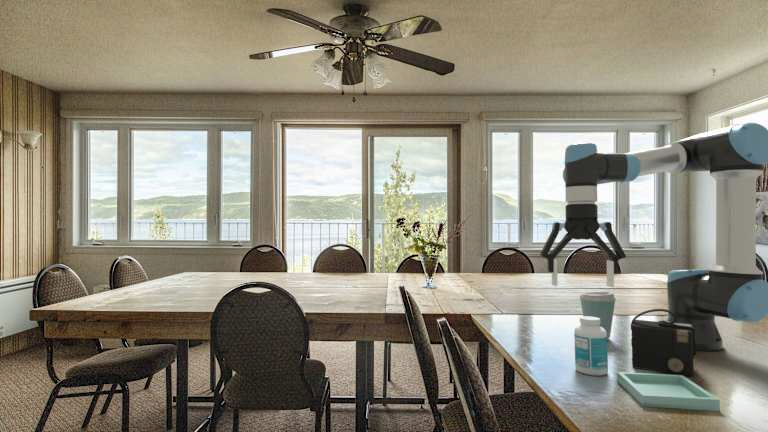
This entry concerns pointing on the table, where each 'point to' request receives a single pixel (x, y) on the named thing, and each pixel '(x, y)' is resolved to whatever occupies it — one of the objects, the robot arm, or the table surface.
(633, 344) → the camera
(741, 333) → the table surface
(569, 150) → the robot arm
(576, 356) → the pill bottle
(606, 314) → the disposable coffee cup
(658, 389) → the tray
